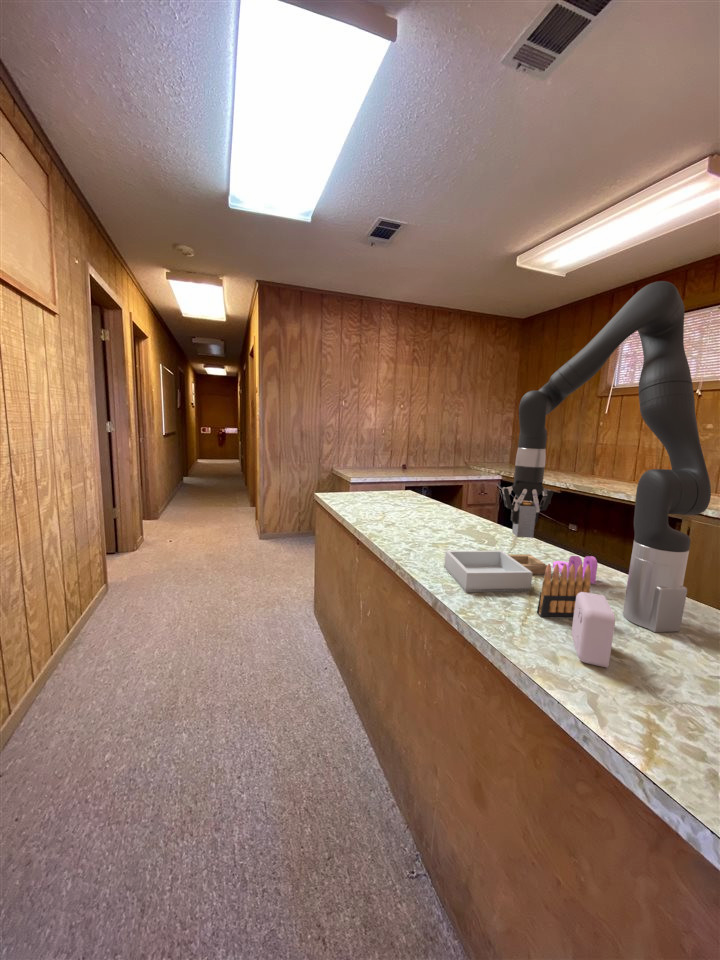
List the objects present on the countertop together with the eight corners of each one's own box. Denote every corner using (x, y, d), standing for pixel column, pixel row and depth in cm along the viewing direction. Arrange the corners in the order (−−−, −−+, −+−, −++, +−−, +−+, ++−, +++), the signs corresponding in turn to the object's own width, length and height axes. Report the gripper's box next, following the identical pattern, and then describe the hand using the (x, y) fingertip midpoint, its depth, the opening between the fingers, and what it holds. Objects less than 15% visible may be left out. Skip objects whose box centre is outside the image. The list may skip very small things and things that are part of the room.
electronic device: (568, 635, 76) (574, 588, 74) (595, 640, 74) (602, 592, 73) (576, 664, 67) (584, 611, 65) (607, 671, 65) (615, 617, 63)
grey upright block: (527, 533, 111) (531, 500, 109) (533, 537, 106) (537, 503, 105) (512, 532, 111) (515, 499, 109) (517, 536, 107) (520, 502, 105)
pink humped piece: (594, 584, 102) (598, 559, 101) (574, 583, 101) (577, 558, 100) (567, 565, 114) (569, 543, 113) (549, 565, 114) (551, 543, 113)
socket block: (546, 574, 107) (547, 565, 106) (516, 574, 106) (517, 565, 105) (529, 562, 116) (530, 554, 115) (501, 562, 115) (501, 554, 114)
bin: (530, 591, 95) (532, 572, 94) (465, 592, 93) (467, 573, 93) (500, 566, 111) (501, 550, 110) (444, 567, 109) (445, 550, 108)
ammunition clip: (583, 614, 85) (590, 563, 83) (588, 618, 83) (595, 566, 81) (536, 613, 84) (542, 562, 82) (540, 617, 82) (547, 565, 80)
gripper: (550, 464, 109) (544, 522, 111) (499, 461, 110) (494, 519, 112) (562, 467, 101) (555, 529, 104) (507, 464, 102) (501, 525, 105)
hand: (523, 523), depth 108 cm, fingers closed on grey upright block, 4 cm apart
